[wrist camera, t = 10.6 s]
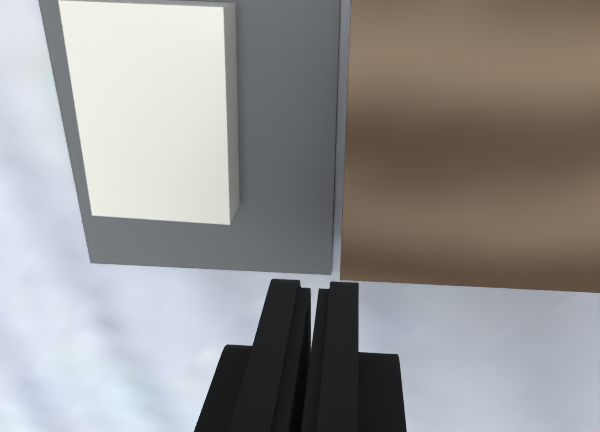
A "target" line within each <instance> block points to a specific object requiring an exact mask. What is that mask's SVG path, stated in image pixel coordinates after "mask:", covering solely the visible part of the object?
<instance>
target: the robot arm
mask: <svg viewBox="0 0 600 432" xmlns="http://www.w3.org/2000/svg"><path fill="white" fill-rule="evenodd" d="M358 294H359V285H358V283H351V282H330V289H319V292H318V300H317V308H316V316H315V324H314V332H313V340H312V348H311V289H310V288H301V285H300V280H285V279H271V282H270V285H269V289H268V292H267V296H266V300H265V303H264V307H263V310H262V314H261V317H260V321H259V324H258V328H257V332H256V335H255V339H254V342H253V346H245V345H226V346H225V347H224V349H223V351H222V354H221V357H220V360H219V362H218V365H217V368H216V371H215V374H214V377H213V379H212V382H211V385H210V388H209V391H208V393H207V396H206V399H205V402H204V405H203V408H202V410H201V413H200V416H199V419H198V422H197V424H196V427H195V430H194V432H407V430H406V420H405V411H404V401H403V391H402V381H401V372H400V362H399V356H398V354H382V353H365V352H358Z"/></svg>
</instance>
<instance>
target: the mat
mask: <svg viewBox="0 0 600 432" xmlns="http://www.w3.org/2000/svg"><path fill="white" fill-rule="evenodd" d="M38 1H39V6H40V11H41V16H42V21H43V26H44V31H45V36H46V41H47V46H48V51H49V56H50V61H51V66H52V71H53V76H54V81H55V86H56V91H57V96H58V101H59V106H60V111H61V116H62V122H63V127H64V132H65V137H66V142H67V147H68V152H69V157H70V162H71V167H72V172H73V177H74V182H75V187H76V192H77V197H78V202H79V207H80V212H81V217H82V222H83V227H84V232H85V237H86V242H87V247H88V252H89V257H90V263H98V264H119V265H139V266H159V267H180V268H200V269H221V270H241V271H262V272H282V273H303V274H323V275H331V266H332V235H333V204H334V173H335V142H336V111H337V80H338V49H339V18H340V0H177V1H201V2H226V3H235V6H236V53H237V101H238V149H239V197H240V204H239V206H238V209H237V211H236V213H235V215H234V217H233V219H232V222H231V224H230V225H223V224H209V223H194V222H180V221H165V220H151V219H136V218H122V217H107V216H92V212H91V205H90V199H89V193H88V186H87V180H86V174H85V167H84V161H83V155H82V148H81V142H80V136H79V129H78V123H77V116H76V110H75V104H74V97H73V91H72V85H71V78H70V72H69V66H68V59H67V53H66V46H65V40H64V34H63V27H62V21H61V15H60V8H59V2H58V0H38Z"/></svg>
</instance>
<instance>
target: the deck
mask: <svg viewBox="0 0 600 432" xmlns="http://www.w3.org/2000/svg"><path fill="white" fill-rule="evenodd" d="M340 280H352V281H372V282H392V283H412V284H432V285H452V286H473V287H493V288H513V289H533V290H553V291H573V292H593V293H600V0H351V18H350V43H349V67H348V92H347V116H346V141H345V165H344V190H343V214H342V239H341V265H340Z"/></svg>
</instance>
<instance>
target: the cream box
mask: <svg viewBox="0 0 600 432" xmlns="http://www.w3.org/2000/svg"><path fill="white" fill-rule="evenodd" d="M58 2H59V8H60V15H61V21H62V27H63V34H64V40H65V46H66V53H67V59H68V66H69V72H70V78H71V85H72V91H73V97H74V104H75V110H76V116H77V123H78V129H79V136H80V142H81V148H82V155H83V161H84V167H85V174H86V180H87V186H88V193H89V199H90V205H91V212H92V216H107V217H122V218H136V219H151V220H165V221H180V222H194V223H209V224H223V225H230V224H231V222H232V219H233V217H234V215H235V213H236V211H237V209H238V206H239V204H240V197H239V149H238V101H237V53H236V6H235V3H226V2H201V1H177V0H58Z"/></svg>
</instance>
